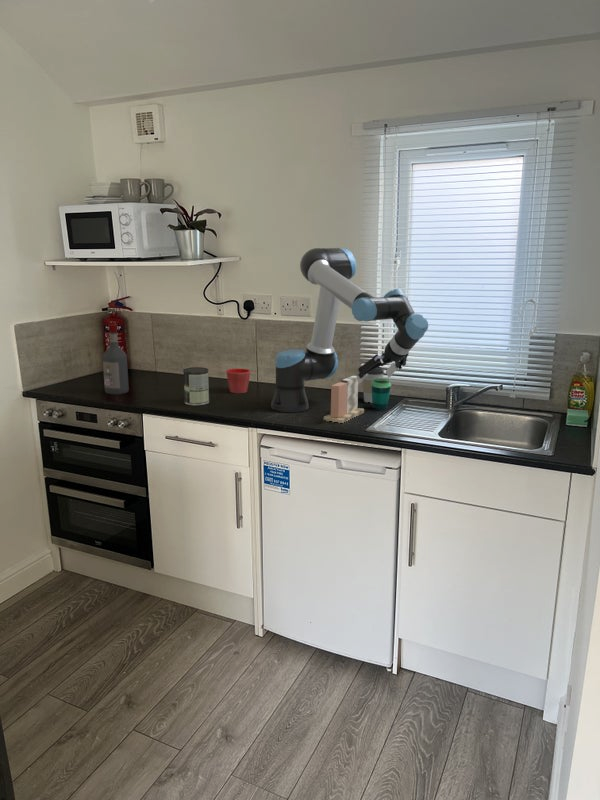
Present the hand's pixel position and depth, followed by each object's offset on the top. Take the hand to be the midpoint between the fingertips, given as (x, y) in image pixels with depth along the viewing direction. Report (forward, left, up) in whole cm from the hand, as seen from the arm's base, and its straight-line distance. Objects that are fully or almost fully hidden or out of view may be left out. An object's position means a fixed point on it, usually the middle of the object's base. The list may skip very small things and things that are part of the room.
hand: (373, 377), depth 232 cm
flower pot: (-56, +43, -17) cm, 72 cm away
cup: (+5, +16, -17) cm, 24 cm away
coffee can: (-71, +22, -17) cm, 76 cm away
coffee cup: (+3, +29, -17) cm, 33 cm away
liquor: (-110, +39, -17) cm, 117 cm away
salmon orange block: (-13, -1, -15) cm, 19 cm away
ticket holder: (-11, +2, -16) cm, 20 cm away
